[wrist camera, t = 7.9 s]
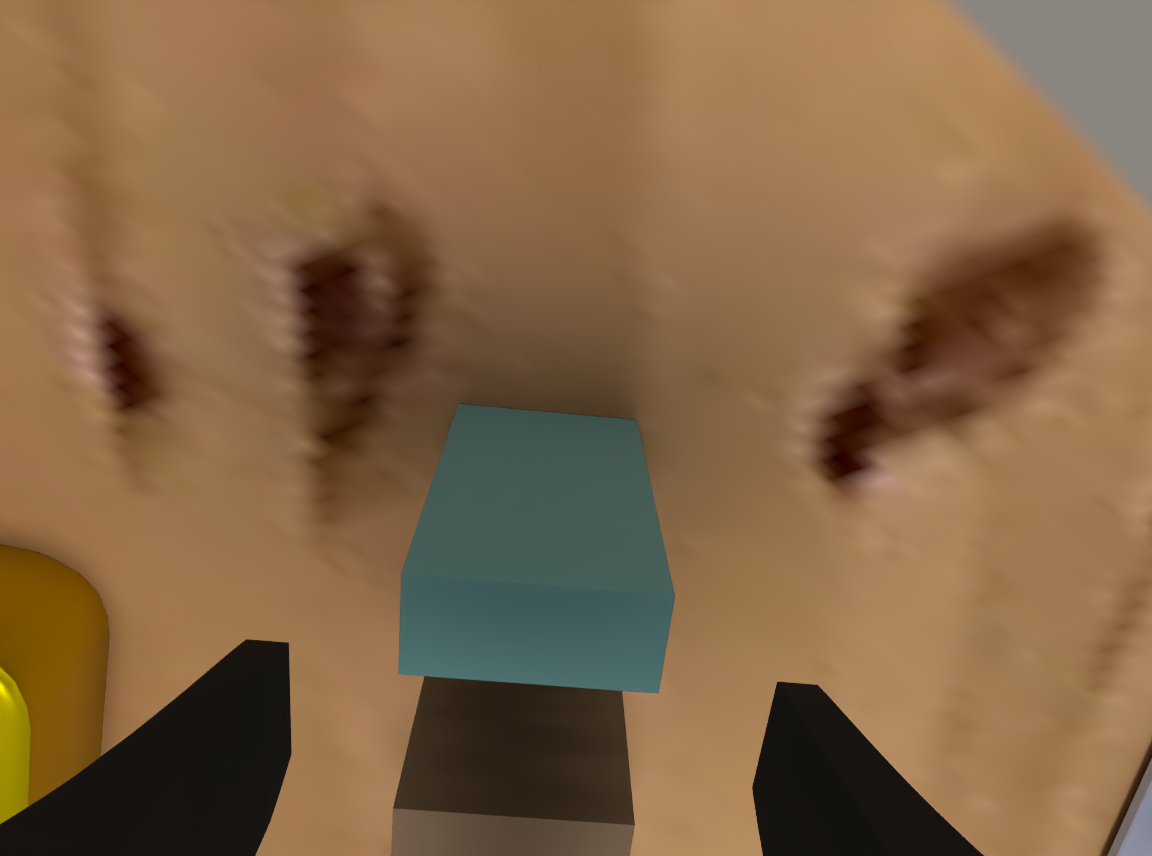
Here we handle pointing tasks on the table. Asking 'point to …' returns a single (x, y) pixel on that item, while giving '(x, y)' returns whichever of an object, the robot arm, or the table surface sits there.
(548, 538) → the teal domino
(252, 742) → the robot arm
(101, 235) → the table surface
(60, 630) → the element tile
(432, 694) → the walnut domino
